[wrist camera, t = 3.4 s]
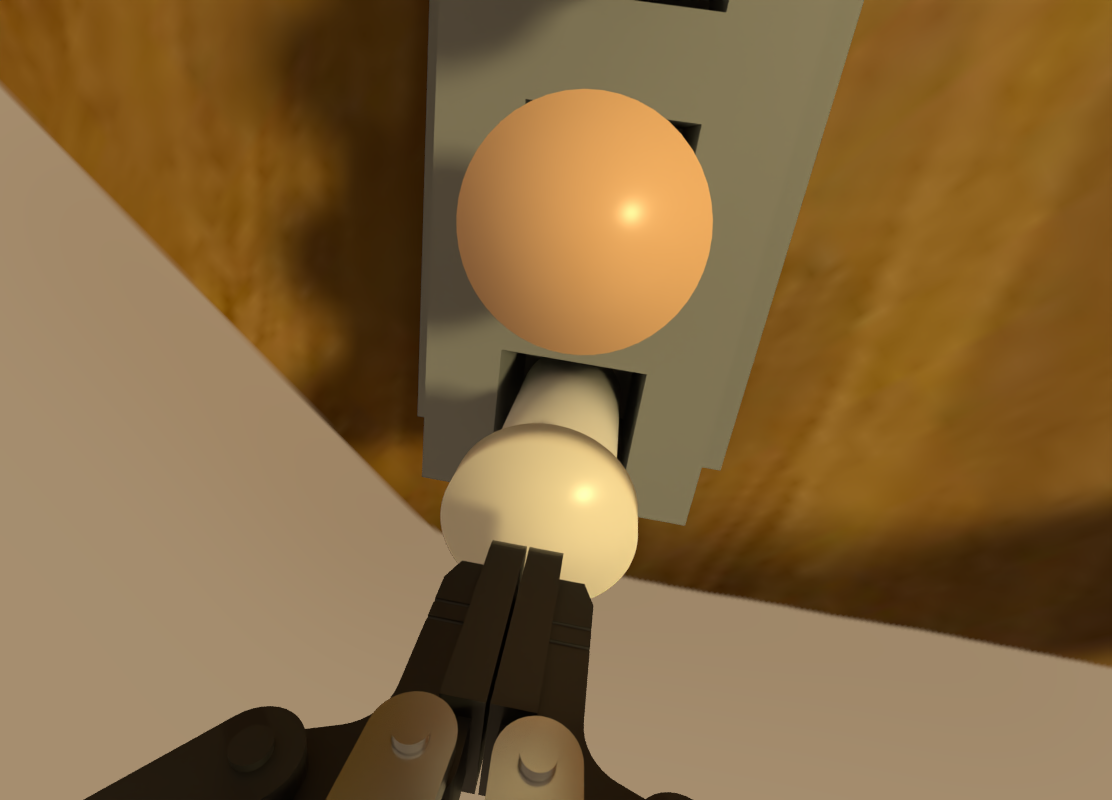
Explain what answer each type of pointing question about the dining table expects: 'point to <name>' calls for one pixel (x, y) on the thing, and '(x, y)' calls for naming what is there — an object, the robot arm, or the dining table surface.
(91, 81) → the dining table surface
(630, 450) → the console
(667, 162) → the knob mid
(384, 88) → the dining table surface
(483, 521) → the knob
